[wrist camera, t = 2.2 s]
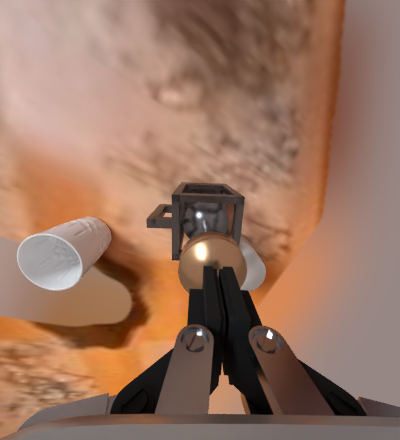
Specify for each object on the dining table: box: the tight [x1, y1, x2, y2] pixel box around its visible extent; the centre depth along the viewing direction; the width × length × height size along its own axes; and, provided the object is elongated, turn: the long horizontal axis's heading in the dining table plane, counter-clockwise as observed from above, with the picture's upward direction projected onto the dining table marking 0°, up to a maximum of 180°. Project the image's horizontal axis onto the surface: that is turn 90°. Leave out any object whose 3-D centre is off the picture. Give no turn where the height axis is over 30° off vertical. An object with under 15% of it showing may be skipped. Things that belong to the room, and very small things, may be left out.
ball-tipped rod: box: [178, 202, 247, 293], centre depth 17 cm, size 5×5×11 cm
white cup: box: [17, 216, 112, 291], centre depth 28 cm, size 8×8×10 cm
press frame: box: [147, 182, 245, 260], centre depth 26 cm, size 7×10×13 cm
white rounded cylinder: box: [229, 234, 266, 292], centre depth 31 cm, size 6×6×8 cm
